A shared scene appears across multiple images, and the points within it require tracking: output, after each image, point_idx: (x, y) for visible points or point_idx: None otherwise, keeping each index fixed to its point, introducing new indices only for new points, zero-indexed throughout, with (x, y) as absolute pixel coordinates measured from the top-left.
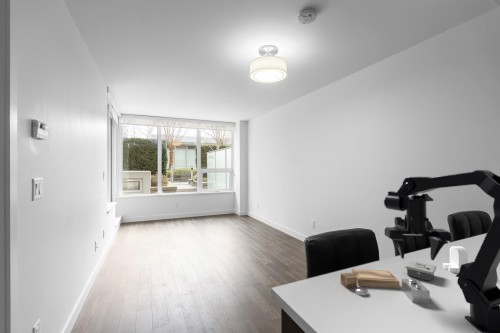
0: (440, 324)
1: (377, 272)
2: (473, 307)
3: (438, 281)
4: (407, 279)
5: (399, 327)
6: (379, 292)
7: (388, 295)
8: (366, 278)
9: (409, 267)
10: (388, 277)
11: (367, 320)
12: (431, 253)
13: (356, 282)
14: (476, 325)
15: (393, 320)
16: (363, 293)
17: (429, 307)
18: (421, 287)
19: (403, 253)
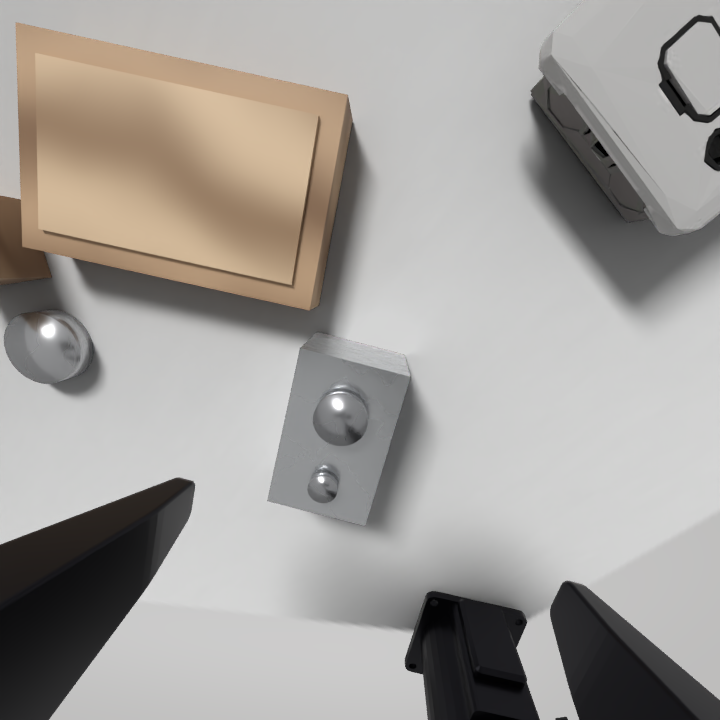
0: (297, 599)
1: (215, 135)
2: (430, 712)
3: None
4: (334, 366)
5: None
6: (169, 342)
7: (204, 378)
8: (85, 243)
9: (567, 82)
10: (258, 246)
11: None
12: (619, 690)
13: (13, 278)
14: (416, 647)
15: None
16: (46, 382)
17: None
18: (348, 482)
19: (109, 619)
